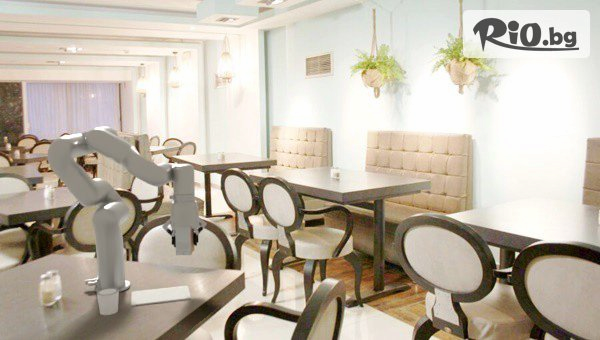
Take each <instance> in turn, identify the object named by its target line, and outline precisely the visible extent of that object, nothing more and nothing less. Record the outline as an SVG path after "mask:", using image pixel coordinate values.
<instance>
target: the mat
mask: <svg viewBox="0 0 600 340" xmlns="http://www.w3.org/2000/svg"><path fill="white" fill-rule="evenodd" d="M130 299H131V300H130V306H131V307H136V305H137V306H145V305H152V304H159V303H160V304H163V303H169V302H177V301H186V300H188V301H189V300H192V297H191V292H190V289H189V285H179V286H171V287H162V288H161V287H160V288H152V289H142V290H134V291H131V298H130Z"/></svg>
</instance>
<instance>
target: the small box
mask: <svg viewBox="0 0 600 340" xmlns="http://www.w3.org/2000/svg"><path fill="white" fill-rule="evenodd" d="M194 232H195V231H194V229H191V226H187V227H176V228H175V238H176V247H175V256H192V254H193V252H194V251H195V245H194Z"/></svg>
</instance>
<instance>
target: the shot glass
mask: <svg viewBox="0 0 600 340" xmlns="http://www.w3.org/2000/svg"><path fill="white" fill-rule="evenodd" d="M119 293H120V292H119V290H118V289H115V288H107V289H103V290H100V291H98V292H96V297H97V302H98V304H97V305H98V308H99V309H98V310H99V314H100V315H102V316H109V315H111V316H112V315H114V314H116V313H118V311H119Z"/></svg>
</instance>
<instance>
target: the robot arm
mask: <svg viewBox="0 0 600 340" xmlns="http://www.w3.org/2000/svg"><path fill="white" fill-rule="evenodd" d="M94 153H98V154H100V155H101V156H103V157H105V158H107V159H108V160H111V161H113V162H114V163H116V164H118V165H120V166H122V167H123V169H124V170H126V171H127V172H128V173H130V174H131V175H132V176H134V177H135V178H137V179H139V180H140V181H142V182H144V183H146V184H148V185H151V186H153V187H164V186H165V185H166V184H169V183H173V188H172V189H173V190H172V194H171V195H168V199H169V200H173V201H172V202H171V203H170V204H171V207H170V213H169V214H170V217H169V219H168V220H166V222H165V223H163V225H162V226H161V227H162V228H163V230H164V231H165V232H166V233H168V235H169V236H171V245H172V246H173V247H174V248H176V238H175V228H176V227H187V226H191V229H194V247H195V246H198V244H199V235H200V233H201V232H203V230H204V228H206V227H207V225H208V224H207V222H206V221H205V220H204V219H202V218H201V217H200V213H199V212H200V211H199V204H198V201H197V200H196V197H195V194H196V193H195V167H194V165H193V164H190V163H171V162H161V163H158V164H157V163H154V162H153V161H150V160H149V159H148V158H145V157H144V156H142V155H141V154H140V153H139V151H138V149H137V148H136V146H135V145H134V144H133V143H132V142H129V141H127V140H125V139H123V138H122V137H119V135H118V133H117V132H116V130H115V129H113V128H112V127H110V126H98V127H94V128H92V129H90V130H88V131H84V132H79V133H75V134H69V135H62V136H59V137H56V138H55V139H54V140H53V141H51V143H50V145H49V147H48V150H47V155H46V156H47V163H48V164H49V167H50V168H51V169H50V170H52V172H53V173H54V174H55V175H56V176H57V177H58V178H59V180H61V182H62V183H63V184H64V186H65V188H67V190H69V192H70V193H71V194H72V196H73V197H74V198H75V199H76V201H77V202H78V203H79V204H80V205H81V206H82V207H85V208H93V207H95V206H96V207H97V208H96V209H95V211H94V213H93V214H92V217H91V224H92V228H93V233H94V238H95V251H96V264H97V277H94V278H89V279H85V280H84V281H85V282H84V283H85V286H88V287H92V286H94V287H93V289H94V292H95V293H97V292H98V291H100V290H103V289H107V288H115V289H118V290H119V293H121V292H123V291H126V290H128V289H129V288H130V287H131V282H130V281H129V280H126V268H125V267H126V265H125V252H124V251H125V250H124V249H125V247H124V238H123V233H122V228H121V225H122V224H124V223H125V222H126V221H127V220H128V218H130V217H129V216H130V209H129V206H128V205H127V202H126V201H125V200H124V199H123V198H122V197H121V195H120V194H119V193H118V192H117V190H116V189H115V188H114V187H113V186H112V185H111V183H110V182H108V181H107V180H105V179H103V178H99V177H95V178H92V177H91V176H90V175H89V174H88V172H87V171H86V170H85V169H84V167H82V165H80V164H79V163H78V162H77V161H76V160H75V159H76V158H80V157H84V156H87V155H91V154H94ZM200 224H201V225H200ZM168 226H170V228H171V229H172V230H171V229H170V228H169V227H168Z"/></svg>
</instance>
